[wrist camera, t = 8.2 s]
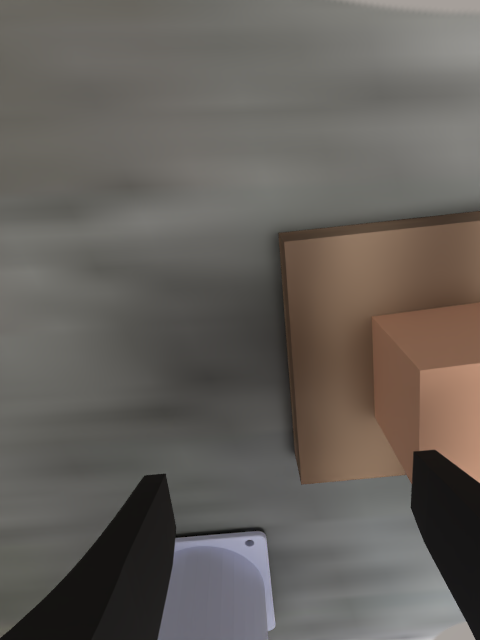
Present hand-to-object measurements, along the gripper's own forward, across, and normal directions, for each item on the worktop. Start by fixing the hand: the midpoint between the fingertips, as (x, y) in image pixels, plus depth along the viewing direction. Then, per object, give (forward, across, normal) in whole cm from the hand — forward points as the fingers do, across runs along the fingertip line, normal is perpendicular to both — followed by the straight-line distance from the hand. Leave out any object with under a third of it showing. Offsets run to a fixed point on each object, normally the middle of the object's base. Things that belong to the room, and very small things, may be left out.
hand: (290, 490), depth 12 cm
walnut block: (+10, -7, 0) cm, 12 cm away
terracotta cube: (+7, -7, 0) cm, 10 cm away
